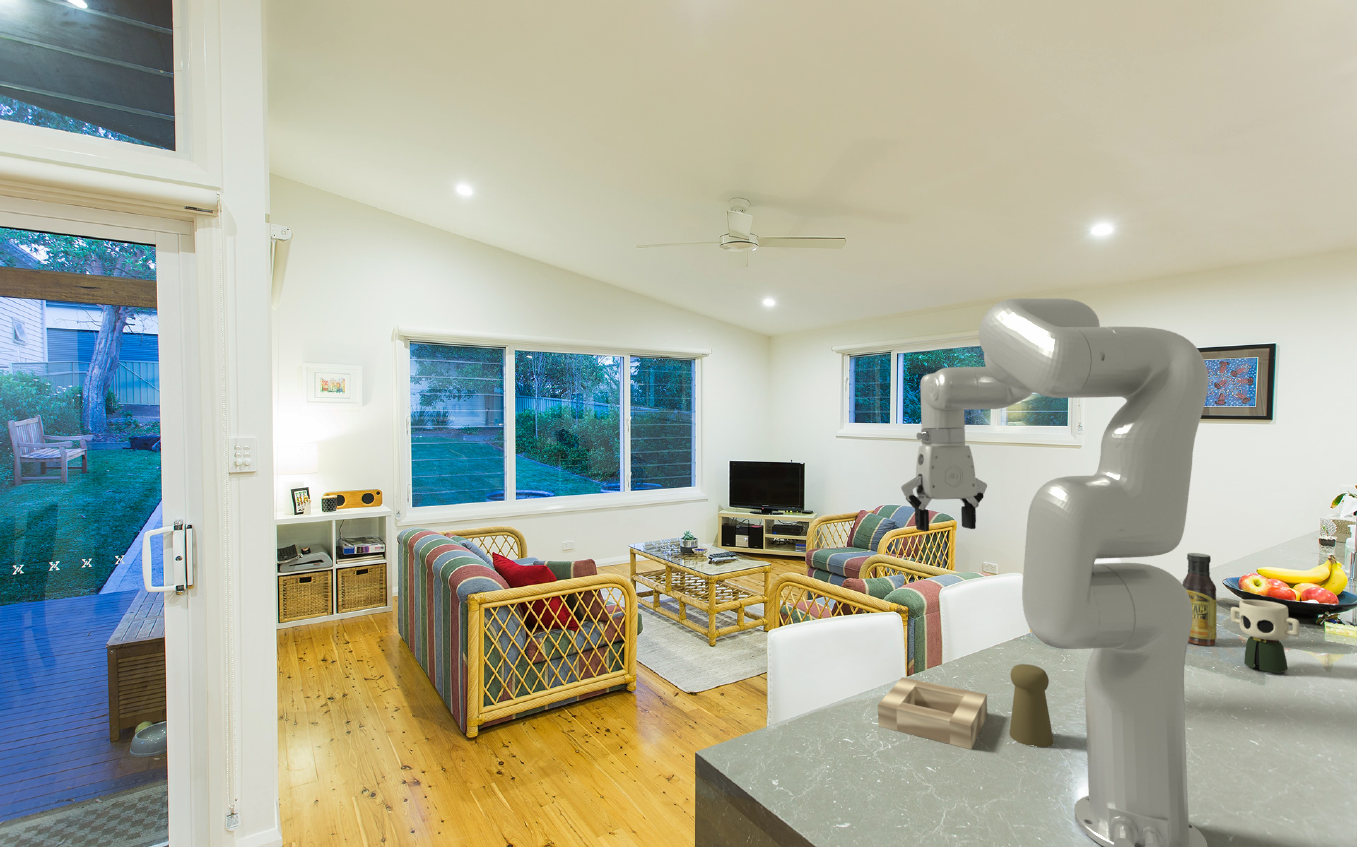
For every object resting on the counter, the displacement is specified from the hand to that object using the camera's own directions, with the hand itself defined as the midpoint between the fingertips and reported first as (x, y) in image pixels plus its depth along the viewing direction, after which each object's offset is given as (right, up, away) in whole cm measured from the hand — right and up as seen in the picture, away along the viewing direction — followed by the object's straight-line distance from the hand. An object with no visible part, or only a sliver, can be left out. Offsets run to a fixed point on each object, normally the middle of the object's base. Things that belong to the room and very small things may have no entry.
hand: (945, 529), depth 117 cm
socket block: (-8, -30, -14) cm, 33 cm away
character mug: (+66, -29, +6) cm, 73 cm away
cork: (+5, -29, -20) cm, 36 cm away
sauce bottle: (+67, -30, +23) cm, 77 cm away
